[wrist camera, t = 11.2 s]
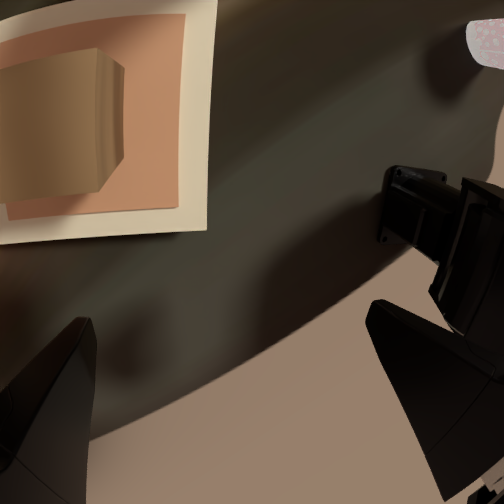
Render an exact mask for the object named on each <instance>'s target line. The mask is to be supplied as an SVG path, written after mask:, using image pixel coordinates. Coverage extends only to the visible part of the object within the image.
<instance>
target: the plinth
mask: <svg viewBox="0 0 504 504" xmlns="http://www.w3.org/2000/svg"><path fill="white" fill-rule="evenodd" d="M217 3H218V0H74V1H69V2H65V3H60V4H56V5H52V6H48V7H44V8H40V9H37V10H33V11H30V12H26V13H23V14H20V15H17V16H14V17H11V18H8V19H5V20H2V21H0V69H3V68H6V67H10V66H13V65H16V64H20V63H24V62H27V61H31V60H35V59H39V58H44V57H48V56H53V55H57V54H62V53H68V52H73V51H79V50H85V49H92V48H98V49H100V50H101V51H103V52H104V53H105V54H107V55H108V56H109V57H111V58H112V59H113V60H115V61H116V62H117V63H119V64H120V65H121V66H123V67H124V68H125V73H124V103H123V138H124V159H123V160H122V161H121V163H120V164H119V165H118V166H117V168H116V169H115V170H114V172H113V173H112V174H111V176H110V177H109V179H108V180H107V181H106V183H105V184H104V185H103V187H102V188H101V190H100V191H99V192H96V193H85V194H75V195H65V196H56V197H47V198H39V199H31V200H24V201H16V202H9V203H3V204H0V244H11V243H22V242H34V241H46V240H58V239H71V238H85V237H99V236H114V235H129V234H145V233H162V232H180V231H200V230H207V174H208V142H209V117H210V97H211V80H212V64H213V50H214V37H215V25H216V14H217Z"/></svg>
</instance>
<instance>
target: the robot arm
mask: <svg viewBox="0 0 504 504" xmlns="http://www.w3.org/2000/svg"><path fill="white" fill-rule="evenodd" d="M397 170H398V173H397V174H396V172H397ZM446 181H447V175H446V174H445V173H443V172H439V171H433V170H427V169H420V168H414V167H407V166H399V165H395V166H393V167H392V169H391V173H390V179H389V184H388V190H387V195H386V200H385V205H384V210H383V214H382V219H381V224H380V228H379V232H378V237H377V241H378V242H379V243H380V244H382V245H390V244H406V243H408V244H410V245H411V246H413V247H414V248H415V249H417V250H418V251H419V252H421V253H422V254H423V255H425V256H426V257H428V258H429V259H430V260H432V261H433V262H434V263H435V264H436V265H438V266H439V267H438V269H437V272H436V275H435V277H434V280H433V283H432V284H431V285H430V287H429V290H428V292H429V294H430V295H431V297H432V298H433V300H434V302H435V304H436V305H437V307H438V309H439V310H440V312H441V314H442V315H443V317H444V320H445V321H446V322H447V324H448V326H449V327H450V328H451V330H453V332H454V333H453V332H450V331H448V330H446V329H444V328H442V327H440V326H438V325H436V324H434V323H432V322H430V321H428V320H426V319H424V318H422V317H420V316H417V315H415V314H413V313H411V312H409V311H407V310H405V309H403V308H401V307H399V306H397V305H395V304H393V303H390V302H388V301H386V300H383V299H380V300H374V301H373V302H372V303H371V306H370V308H369V311H368V314H367V317H366V321H365V324H366V327H367V330H368V332H369V335H370V337H371V340H372V342H373V345H374V347H375V350H376V353H377V355H378V358H379V360H380V362H381V364H382V366H383V368H384V370H385V372H386V374H387V376H388V378H389V380H390V382H391V384H392V386H393V388H394V390H395V392H396V394H397V397H398V398H399V401H400V403H401V405H402V407H403V409H404V411H405V413H406V415H407V418H408V420H409V422H410V424H411V426H412V428H413V430H414V433H415V435H416V437H417V439H418V441H419V444H420V446H421V448H422V451H423V453H424V455H425V458H426V460H427V462H428V465H429V467H430V469H431V472H432V474H433V477H434V479H435V481H436V484H437V486H438V489H439V491H440V494H441V496H442V498H443V500H444V502H446V501H447V500H449V499H450V498H452V497H453V496H455V495H456V494H458V493H459V492H460V491H462V490H463V489H465V488H466V487H467V486H469V485H470V484H471V483H473V482H474V481H475V480H477V479H478V478H479V477H481V479H482V480H483V482H484V483H485V484H484V485H483V486H481V487H480V488H479V489H478V490H476V491H475V492H474V493H473V494H471V495H470V496H469V497H468V501H467V504H504V188H501V187H499V186H497V185H494V184H490V183H486V182H482V181H478V180H474V179H469V178H465V177H463V178H462V183H461V185H462V188H461V191H460V190H458V189H456V188H453V187H451V186H449V185H447V184H446ZM383 237H384V239H383ZM382 239H383V240H382ZM96 351H97V340H96V336H95V332H94V328H93V324H92V321H91V319H90V318H89V317H76V318H75V319H74V320H73V321H72V322H71V323H70V324H69V325H67V326H66V327H65V328H64V329H63V330H62V331H61V332H60V333H59V334H58V335H57V336H56V337H55V338H54V339H53V340H52V341H51V342H50V343H49V344H48V345H47V346H46V347H45V348H43V349H42V350H41V351H40V352H39V353H38V354H37V355H36V356H35V357H34V358H33V359H32V360H31V361H30V362H29V363H28V364H27V365H26V366H25V367H24V368H23V369H22V371H21V372H20V373H19V374H18V375H17V376H16V377H15V378H14V379H13V380H12V381H11V382H10V383H9V384H8V386H6V387H5V388H4V389H3V390H2V391H1V392H0V504H86V478H87V459H88V445H89V434H90V424H91V416H92V407H93V400H94V391H95V369H96Z"/></svg>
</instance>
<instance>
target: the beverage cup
mask: <svg viewBox="0 0 504 504" xmlns="http://www.w3.org/2000/svg"><path fill="white" fill-rule="evenodd" d="M466 40H467V44H468V47H469V50H470V52H471V54H472V56H473V58H474V59H475V60H476V61H477V62H478V63H479V64H481V65H484V66H490V67H495V68H500V69H504V19H491V20H479V21H471V22H470V23H469V24H468V25H467V29H466Z"/></svg>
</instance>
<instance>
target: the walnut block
mask: <svg viewBox="0 0 504 504" xmlns="http://www.w3.org/2000/svg"><path fill="white" fill-rule="evenodd" d="M124 73H125V68H124V67H123V66H121V65H120V64H119V63H117V62H116V61H115V60H113V59H112V58H111V57H109V56H108V55H107V54H105V53H104V52H103V51H101V50H100V49H98V48H92V49H85V50H79V51H73V52H68V53H62V54H57V55H53V56H48V57H44V58H39V59H35V60H31V61H27V62H24V63H20V64H16V65H13V66H10V67H6V68H3V69H0V204H3V203H9V202H16V201H24V200H31V199H39V198H47V197H56V196H65V195H75V194H85V193H96V192H99V191H100V190H101V188H102V187H103V185H104V184H105V183H106V181H107V180H108V179H109V177H110V176H111V174H112V173H113V172H114V170H115V169H116V168H117V166H118V165H119V164H120V163H121V161H122V160H123V159H124V138H123V103H124Z"/></svg>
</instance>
